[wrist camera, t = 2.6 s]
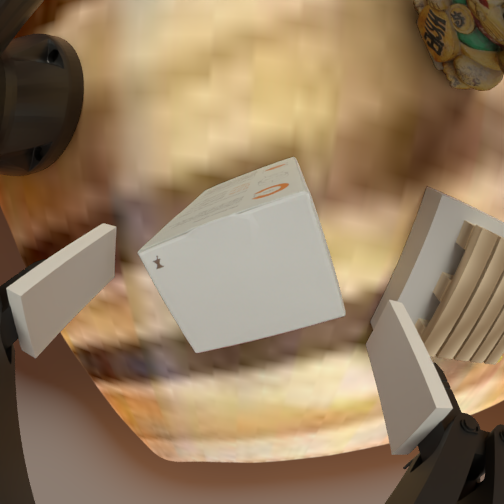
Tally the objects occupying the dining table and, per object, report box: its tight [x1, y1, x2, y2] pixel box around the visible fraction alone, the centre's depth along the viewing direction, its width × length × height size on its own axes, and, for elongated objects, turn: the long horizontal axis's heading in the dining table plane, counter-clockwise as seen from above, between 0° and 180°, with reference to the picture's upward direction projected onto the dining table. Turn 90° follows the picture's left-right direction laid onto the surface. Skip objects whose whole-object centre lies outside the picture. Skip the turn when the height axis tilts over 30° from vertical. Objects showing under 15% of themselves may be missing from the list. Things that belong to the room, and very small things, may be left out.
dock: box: [370, 186, 504, 362], centre depth 24 cm, size 18×14×4 cm
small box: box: [138, 157, 345, 353], centre depth 19 cm, size 8×6×13 cm
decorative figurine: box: [413, 0, 504, 91], centre depth 10 cm, size 10×8×15 cm
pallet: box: [415, 220, 504, 365], centre depth 22 cm, size 12×12×2 cm
